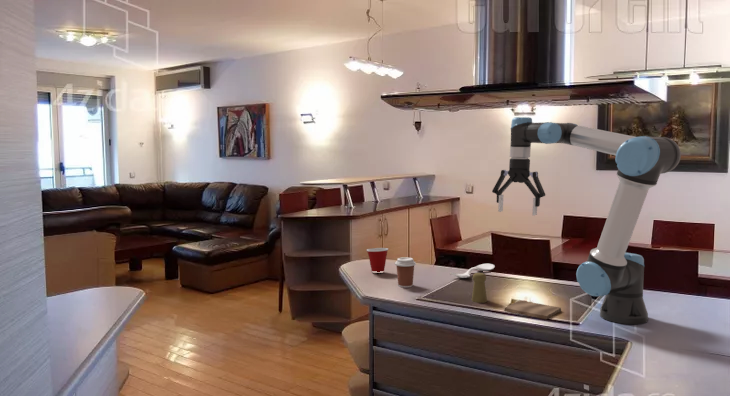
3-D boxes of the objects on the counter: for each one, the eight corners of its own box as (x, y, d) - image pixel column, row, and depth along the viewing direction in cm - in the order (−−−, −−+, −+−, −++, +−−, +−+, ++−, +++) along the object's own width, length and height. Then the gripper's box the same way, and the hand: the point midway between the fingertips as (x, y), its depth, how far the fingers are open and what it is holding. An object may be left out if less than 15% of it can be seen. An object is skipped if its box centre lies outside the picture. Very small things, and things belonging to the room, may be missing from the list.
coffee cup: (415, 288, 234) (415, 261, 233) (394, 288, 236) (393, 260, 235) (416, 283, 243) (416, 256, 242) (396, 282, 245) (396, 256, 244)
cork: (487, 303, 211) (487, 275, 210) (471, 302, 212) (471, 274, 211) (486, 298, 217) (487, 271, 216) (471, 298, 218) (471, 271, 217)
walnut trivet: (560, 310, 200) (560, 307, 200) (546, 319, 190) (546, 316, 190) (519, 303, 210) (519, 300, 210) (504, 310, 200) (504, 307, 200)
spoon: (449, 279, 251) (449, 272, 251) (481, 267, 276) (481, 260, 276) (466, 282, 246) (466, 274, 245) (498, 269, 270) (498, 262, 270)
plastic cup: (380, 269, 273) (380, 245, 272) (393, 273, 264) (392, 248, 263) (362, 272, 267) (361, 248, 266) (374, 276, 258) (374, 251, 257)
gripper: (555, 159, 203) (552, 215, 206) (493, 156, 218) (490, 208, 221) (549, 159, 197) (546, 217, 200) (485, 157, 212) (483, 211, 215)
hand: (517, 213), depth 210 cm, fingers open, 13 cm apart
